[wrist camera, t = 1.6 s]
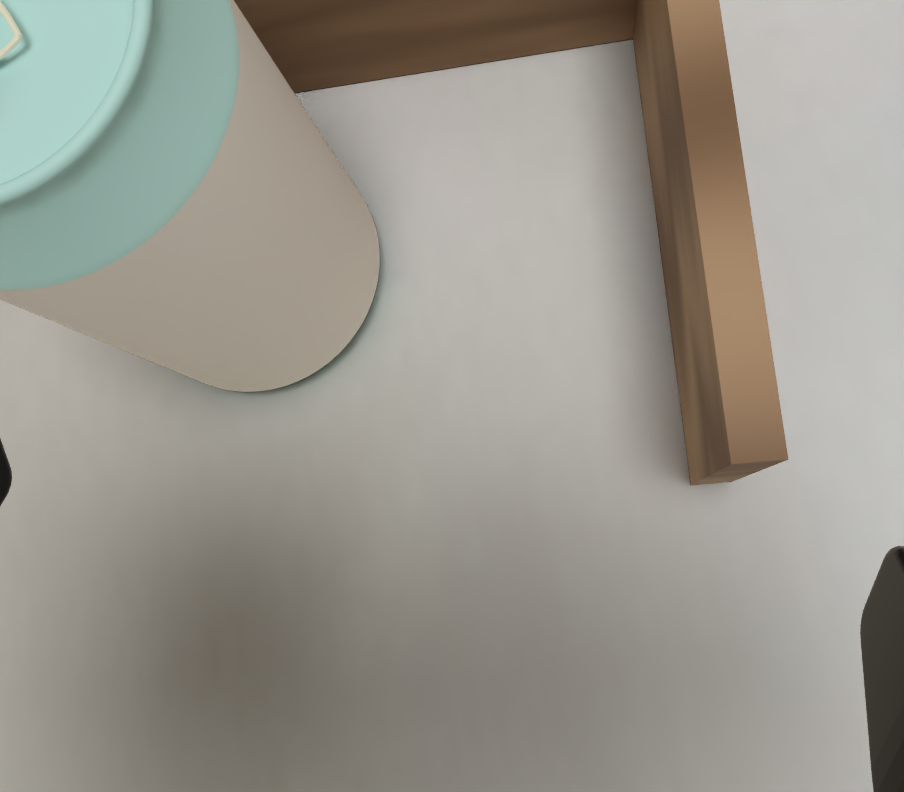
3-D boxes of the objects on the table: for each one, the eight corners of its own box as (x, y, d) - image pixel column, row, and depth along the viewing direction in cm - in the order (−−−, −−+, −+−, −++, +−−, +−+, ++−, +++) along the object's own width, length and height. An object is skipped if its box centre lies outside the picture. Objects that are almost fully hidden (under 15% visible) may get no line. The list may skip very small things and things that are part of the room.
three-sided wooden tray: (731, 481, 21) (787, 459, 15) (-119, 555, 24) (-342, 560, 18) (665, 0, 23) (692, -179, 18) (-100, 127, 27) (-291, 12, 21)
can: (362, 412, 23) (128, 277, 11) (128, 378, 24) (-302, 228, 12) (404, 170, 24) (231, -186, 12) (178, 150, 25) (-177, -189, 13)
